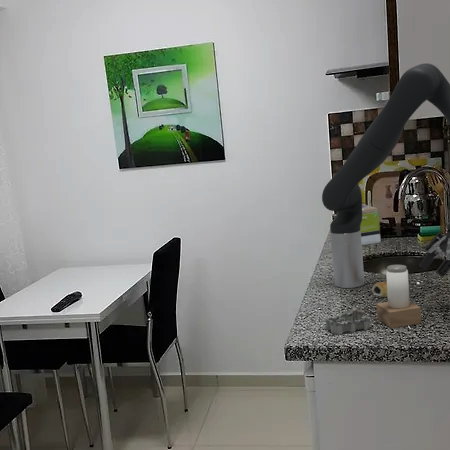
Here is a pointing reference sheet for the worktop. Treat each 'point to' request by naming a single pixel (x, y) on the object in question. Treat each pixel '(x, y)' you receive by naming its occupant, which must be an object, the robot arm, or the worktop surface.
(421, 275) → the worktop surface
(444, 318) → the worktop surface
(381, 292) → the pastry
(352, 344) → the worktop surface
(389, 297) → the spice jar
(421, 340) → the worktop surface
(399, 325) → the walnut block
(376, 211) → the tea box
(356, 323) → the egg carton
